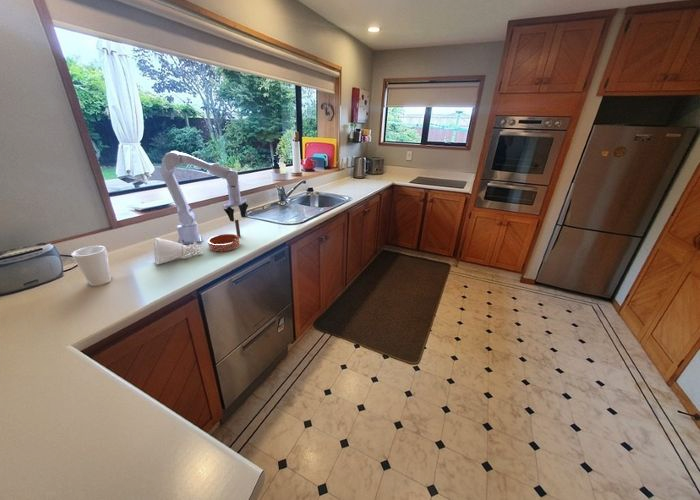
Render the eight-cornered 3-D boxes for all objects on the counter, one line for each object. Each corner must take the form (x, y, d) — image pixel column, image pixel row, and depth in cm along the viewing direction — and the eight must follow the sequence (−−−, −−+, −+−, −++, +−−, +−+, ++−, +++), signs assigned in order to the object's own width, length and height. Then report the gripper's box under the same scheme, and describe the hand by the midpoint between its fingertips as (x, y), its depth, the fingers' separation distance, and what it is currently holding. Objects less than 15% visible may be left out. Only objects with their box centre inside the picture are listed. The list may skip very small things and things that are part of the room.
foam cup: (91, 277, 109) (79, 247, 104) (119, 274, 113) (109, 244, 107) (79, 289, 101) (65, 257, 96) (110, 285, 104) (99, 254, 99)
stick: (237, 237, 151) (235, 220, 147) (236, 236, 153) (234, 219, 149) (241, 237, 152) (238, 219, 148) (240, 236, 154) (237, 218, 150)
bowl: (211, 254, 131) (210, 246, 130) (207, 244, 142) (205, 236, 141) (243, 248, 139) (241, 241, 137) (236, 239, 149) (235, 232, 148)
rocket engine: (202, 232, 130) (156, 232, 118) (207, 254, 126) (159, 256, 114) (197, 245, 138) (153, 246, 126) (201, 266, 134) (156, 269, 122)
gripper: (228, 197, 137) (232, 224, 142) (250, 192, 148) (253, 216, 154) (218, 195, 139) (222, 221, 145) (240, 190, 151) (244, 214, 157)
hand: (237, 219), depth 150 cm, fingers open, 7 cm apart
